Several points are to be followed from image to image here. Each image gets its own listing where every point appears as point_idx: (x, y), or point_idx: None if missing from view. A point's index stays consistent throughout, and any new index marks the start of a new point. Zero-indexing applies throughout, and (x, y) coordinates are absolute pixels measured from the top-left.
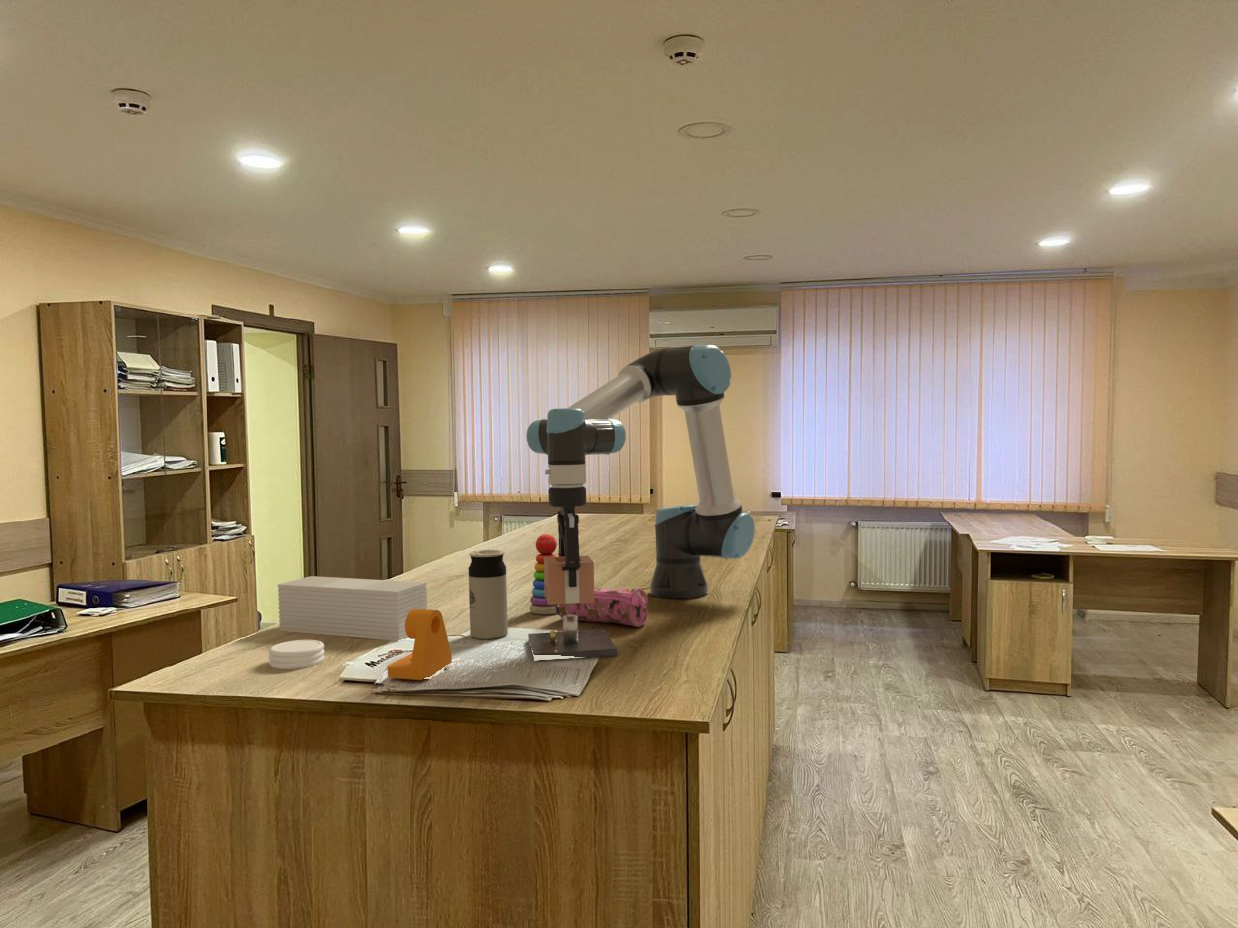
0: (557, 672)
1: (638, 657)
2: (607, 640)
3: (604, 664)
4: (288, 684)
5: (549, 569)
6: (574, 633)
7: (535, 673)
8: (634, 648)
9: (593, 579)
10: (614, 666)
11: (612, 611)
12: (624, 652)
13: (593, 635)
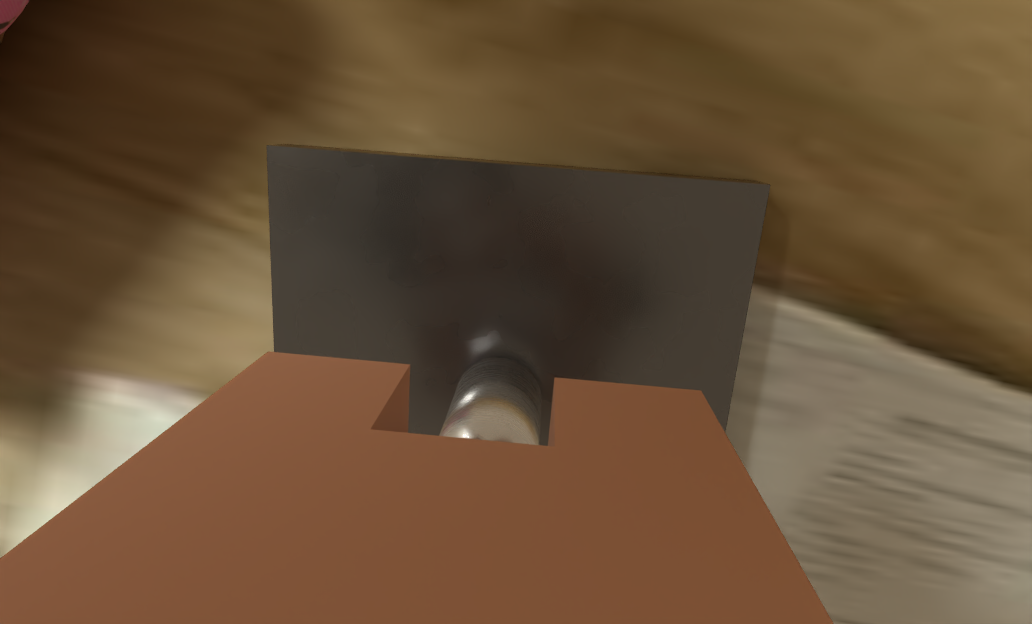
0: (908, 520)
1: (835, 61)
2: (563, 194)
3: (883, 285)
4: None
5: None
6: (536, 405)
7: (875, 604)
8: (628, 30)
9: (777, 530)
10: (947, 243)
11: (1, 23)
12: (694, 116)
13: (414, 249)
